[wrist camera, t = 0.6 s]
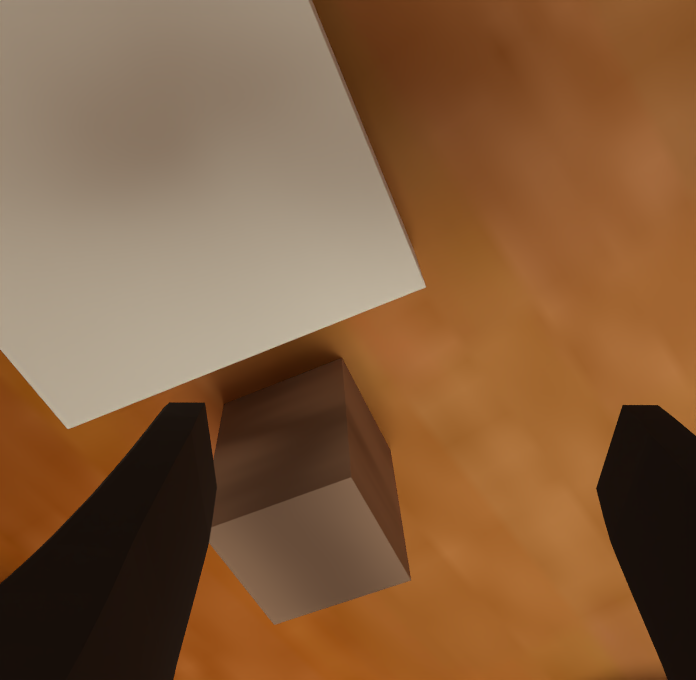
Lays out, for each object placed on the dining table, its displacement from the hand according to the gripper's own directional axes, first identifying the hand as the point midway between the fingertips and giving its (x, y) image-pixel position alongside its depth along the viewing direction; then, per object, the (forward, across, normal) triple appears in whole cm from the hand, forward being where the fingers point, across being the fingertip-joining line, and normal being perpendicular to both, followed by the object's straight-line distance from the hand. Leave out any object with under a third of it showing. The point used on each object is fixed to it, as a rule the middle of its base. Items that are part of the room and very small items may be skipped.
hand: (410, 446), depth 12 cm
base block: (+11, +7, -2) cm, 13 cm away
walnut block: (+10, +2, +8) cm, 13 cm away
